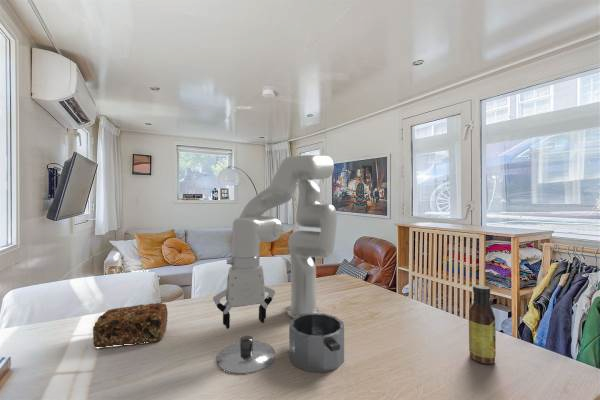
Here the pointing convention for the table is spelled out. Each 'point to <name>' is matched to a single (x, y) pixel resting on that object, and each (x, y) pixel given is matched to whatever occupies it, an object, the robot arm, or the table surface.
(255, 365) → the lid
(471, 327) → the sauce bottle
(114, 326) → the bread
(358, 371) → the table surface
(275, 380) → the table surface
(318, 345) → the pot
